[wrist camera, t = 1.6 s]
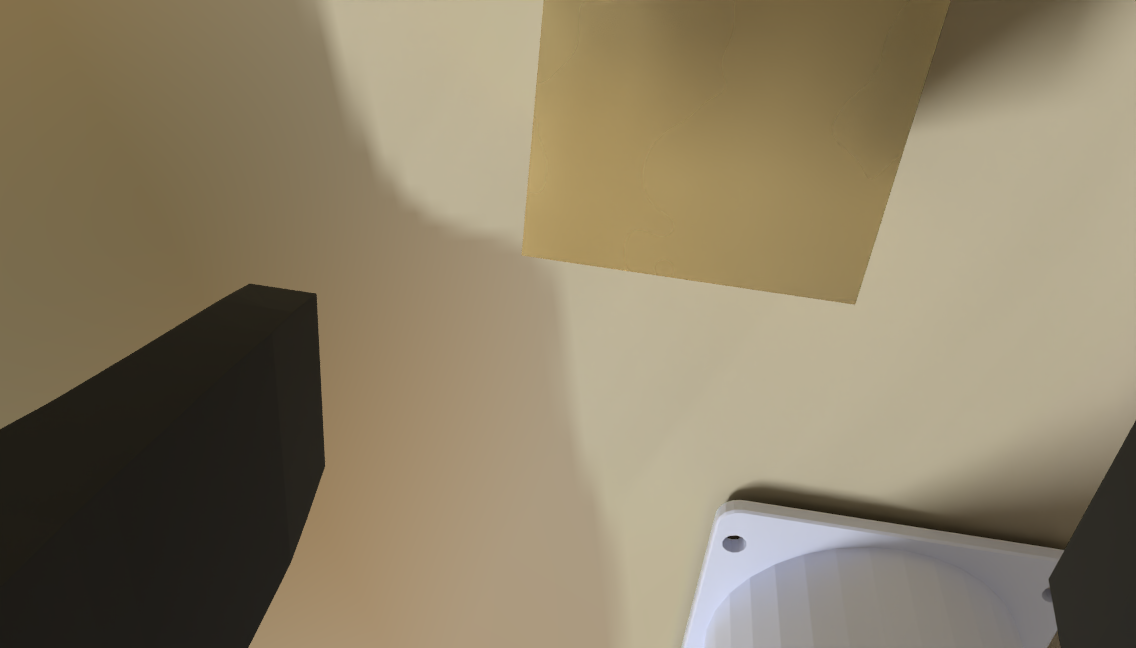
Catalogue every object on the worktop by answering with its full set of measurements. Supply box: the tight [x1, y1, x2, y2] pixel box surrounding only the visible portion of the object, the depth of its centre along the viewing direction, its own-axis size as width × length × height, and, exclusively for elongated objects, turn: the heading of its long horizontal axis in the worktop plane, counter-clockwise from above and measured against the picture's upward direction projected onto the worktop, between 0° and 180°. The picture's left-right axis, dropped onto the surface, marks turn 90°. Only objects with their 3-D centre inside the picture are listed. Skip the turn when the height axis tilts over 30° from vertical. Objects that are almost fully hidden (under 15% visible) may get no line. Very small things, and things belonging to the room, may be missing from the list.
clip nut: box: [522, 0, 951, 304], centre depth 14 cm, size 5×4×5 cm
